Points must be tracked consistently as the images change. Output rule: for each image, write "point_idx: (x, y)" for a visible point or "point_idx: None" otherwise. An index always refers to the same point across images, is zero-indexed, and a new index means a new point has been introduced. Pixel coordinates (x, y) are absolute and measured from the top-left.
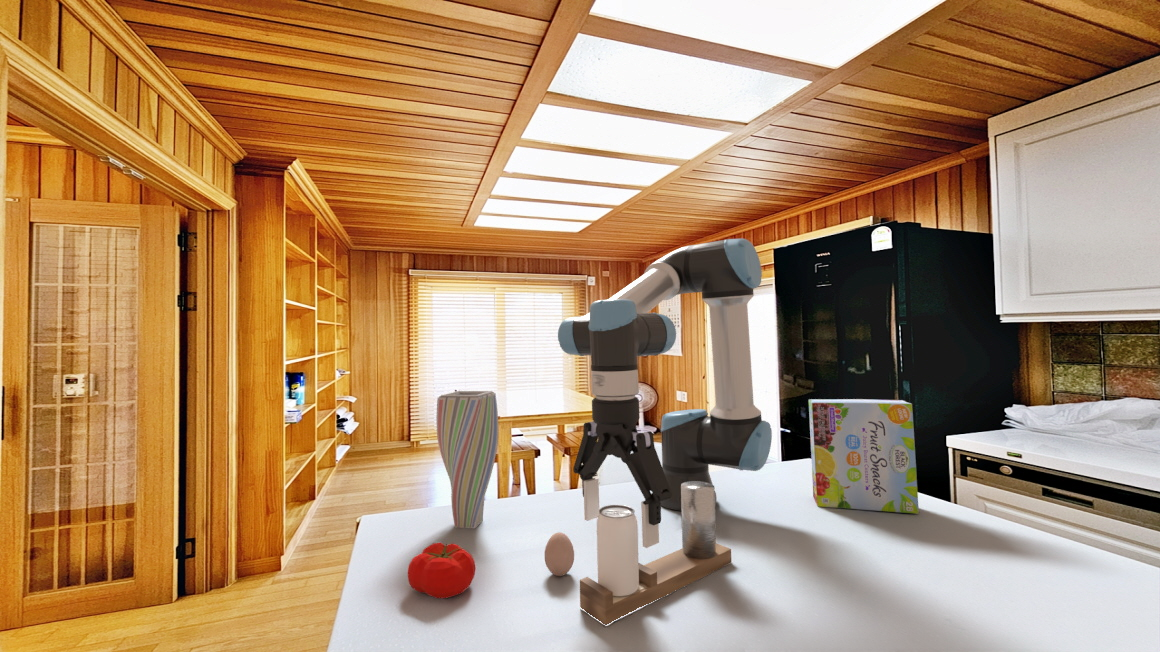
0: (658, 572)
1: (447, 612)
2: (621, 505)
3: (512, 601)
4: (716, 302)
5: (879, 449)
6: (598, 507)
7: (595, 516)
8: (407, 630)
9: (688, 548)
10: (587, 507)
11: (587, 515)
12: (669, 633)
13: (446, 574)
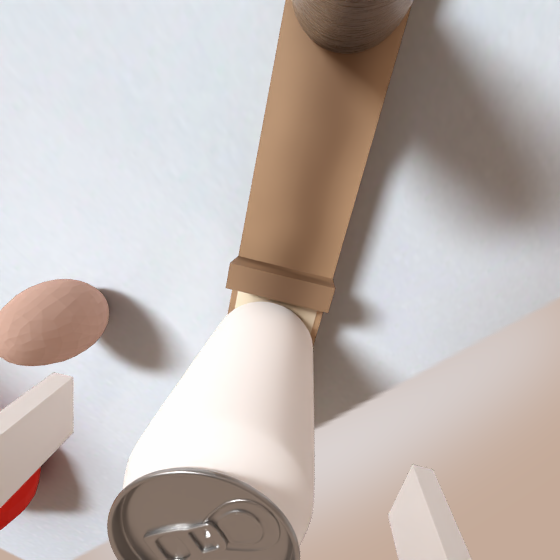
0: (303, 218)
1: (72, 484)
2: (163, 475)
3: (113, 419)
4: None
5: None
6: (35, 412)
7: (68, 402)
8: (77, 530)
9: (338, 38)
10: (22, 483)
11: (54, 449)
12: (402, 354)
13: (2, 523)
